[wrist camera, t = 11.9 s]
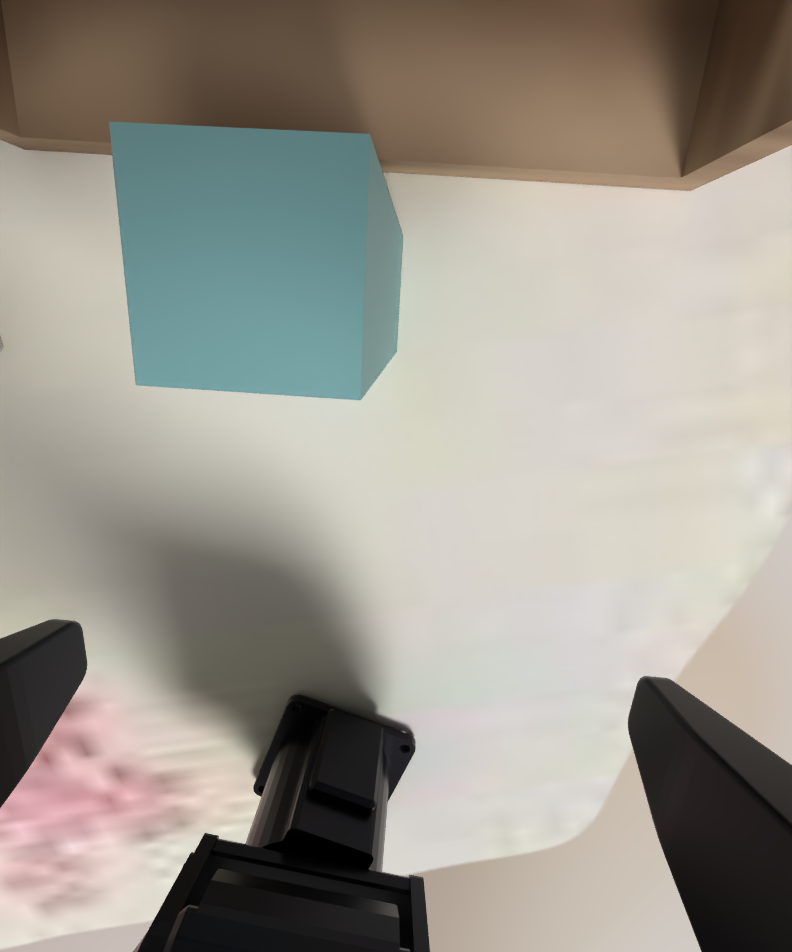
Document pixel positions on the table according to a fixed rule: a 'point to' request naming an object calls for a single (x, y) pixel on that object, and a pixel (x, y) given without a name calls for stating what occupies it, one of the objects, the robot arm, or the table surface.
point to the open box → (420, 80)
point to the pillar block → (257, 258)
